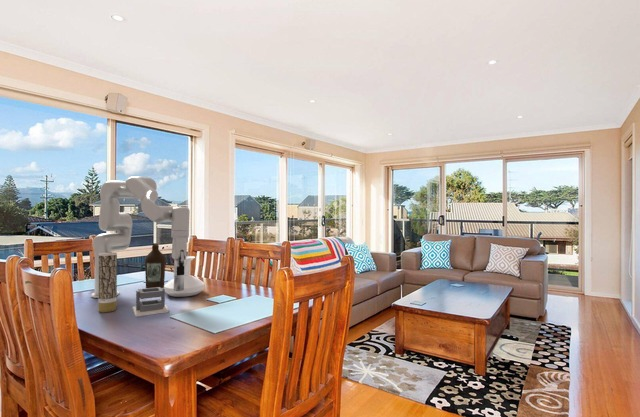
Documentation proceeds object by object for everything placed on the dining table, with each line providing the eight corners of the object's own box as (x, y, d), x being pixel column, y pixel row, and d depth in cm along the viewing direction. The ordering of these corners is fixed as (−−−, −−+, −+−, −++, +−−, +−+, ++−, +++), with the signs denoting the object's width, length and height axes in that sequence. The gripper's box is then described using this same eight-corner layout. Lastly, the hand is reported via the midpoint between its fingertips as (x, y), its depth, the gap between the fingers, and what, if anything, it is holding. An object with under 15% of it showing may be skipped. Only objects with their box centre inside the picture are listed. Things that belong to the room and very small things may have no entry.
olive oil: (146, 286, 204) (147, 242, 204) (166, 285, 207) (167, 242, 207) (142, 290, 194) (143, 244, 194) (163, 289, 197) (163, 244, 197)
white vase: (155, 295, 183) (155, 258, 183) (188, 288, 200) (188, 254, 200) (180, 301, 172) (180, 261, 172) (212, 293, 189) (213, 256, 189)
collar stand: (132, 309, 159) (132, 288, 159) (164, 304, 166) (164, 285, 166) (135, 316, 148) (135, 294, 148) (169, 311, 155) (169, 291, 155)
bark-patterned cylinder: (108, 313, 152) (108, 254, 152) (94, 312, 153) (94, 254, 153) (120, 309, 158) (120, 252, 158) (106, 308, 160) (107, 252, 160)
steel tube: (172, 289, 163) (173, 252, 163) (182, 288, 166) (183, 251, 165) (174, 291, 159) (175, 253, 159) (185, 290, 162) (186, 253, 162)
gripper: (168, 232, 167) (167, 271, 167) (175, 235, 153) (173, 278, 153) (184, 232, 171) (183, 270, 172) (193, 235, 157) (192, 276, 157)
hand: (179, 273), depth 162 cm, fingers closed on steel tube, 4 cm apart
